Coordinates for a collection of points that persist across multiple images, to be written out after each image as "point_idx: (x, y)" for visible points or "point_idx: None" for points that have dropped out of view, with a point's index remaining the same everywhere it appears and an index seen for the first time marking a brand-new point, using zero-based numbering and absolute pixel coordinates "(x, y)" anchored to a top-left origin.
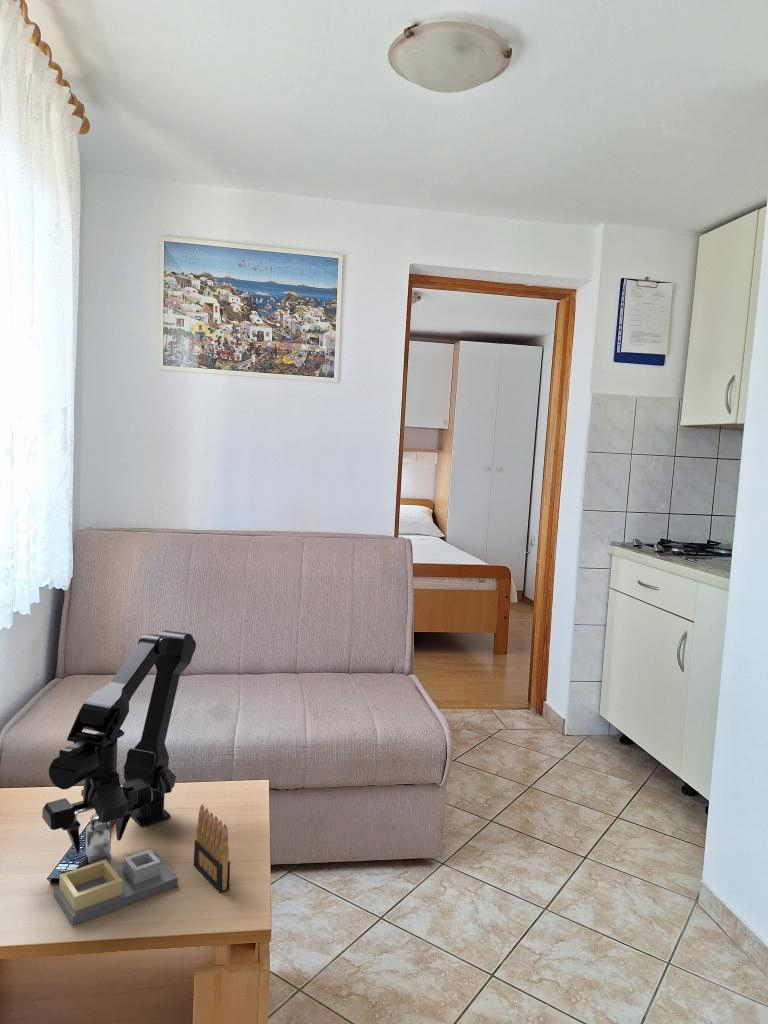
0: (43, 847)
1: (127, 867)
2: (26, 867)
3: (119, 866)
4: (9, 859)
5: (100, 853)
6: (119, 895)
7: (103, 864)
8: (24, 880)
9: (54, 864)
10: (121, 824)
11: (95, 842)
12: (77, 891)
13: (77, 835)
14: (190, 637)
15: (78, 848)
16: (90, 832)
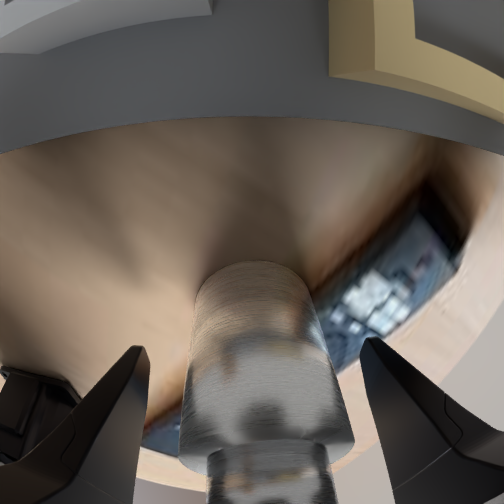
0: (359, 409)
1: None
2: (444, 348)
3: (209, 92)
4: None
5: (270, 296)
6: None
7: (412, 19)
8: (486, 292)
9: (397, 335)
10: (105, 427)
11: (313, 363)
12: (489, 44)
13: (439, 418)
14: None
15: (387, 355)
16: (352, 436)
